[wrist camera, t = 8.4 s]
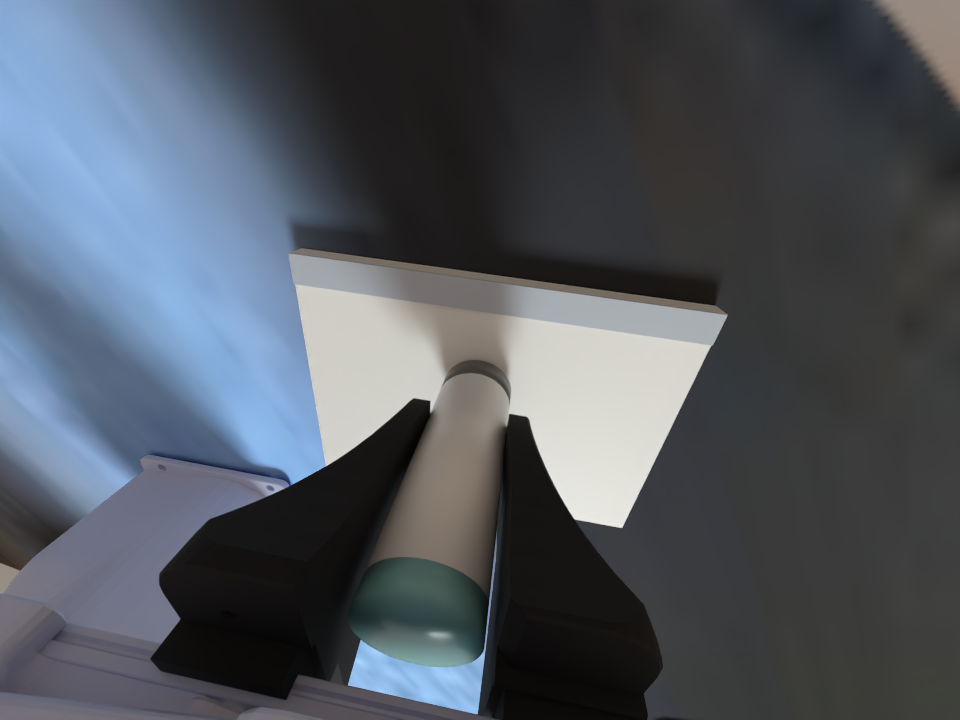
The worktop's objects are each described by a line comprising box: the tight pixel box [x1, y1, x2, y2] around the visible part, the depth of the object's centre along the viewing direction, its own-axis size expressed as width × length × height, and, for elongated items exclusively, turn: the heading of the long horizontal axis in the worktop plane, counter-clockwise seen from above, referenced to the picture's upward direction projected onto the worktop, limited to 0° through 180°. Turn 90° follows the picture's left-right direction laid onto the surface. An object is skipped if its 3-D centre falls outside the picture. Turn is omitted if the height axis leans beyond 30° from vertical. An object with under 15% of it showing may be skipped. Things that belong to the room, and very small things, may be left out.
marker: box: [347, 360, 511, 667], centre depth 11 cm, size 3×3×9 cm
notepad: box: [288, 248, 728, 528], centre depth 16 cm, size 16×12×1 cm
